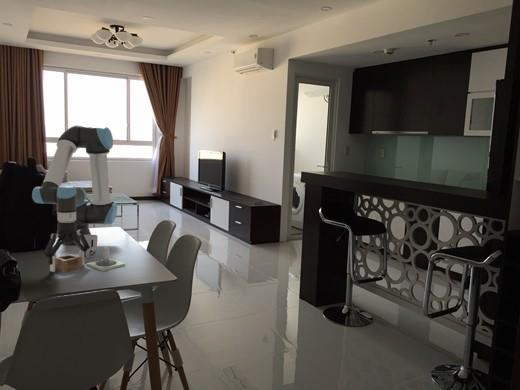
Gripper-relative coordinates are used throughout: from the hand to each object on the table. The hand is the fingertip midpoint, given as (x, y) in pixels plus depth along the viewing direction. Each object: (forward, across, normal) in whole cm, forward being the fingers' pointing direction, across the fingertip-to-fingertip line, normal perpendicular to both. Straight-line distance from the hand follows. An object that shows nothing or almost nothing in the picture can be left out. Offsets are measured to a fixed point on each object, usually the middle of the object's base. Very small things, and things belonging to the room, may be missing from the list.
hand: (67, 268), depth 190 cm
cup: (0, +17, +11) cm, 20 cm away
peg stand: (0, +14, -8) cm, 16 cm away
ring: (0, 0, 0) cm, 0 cm away
